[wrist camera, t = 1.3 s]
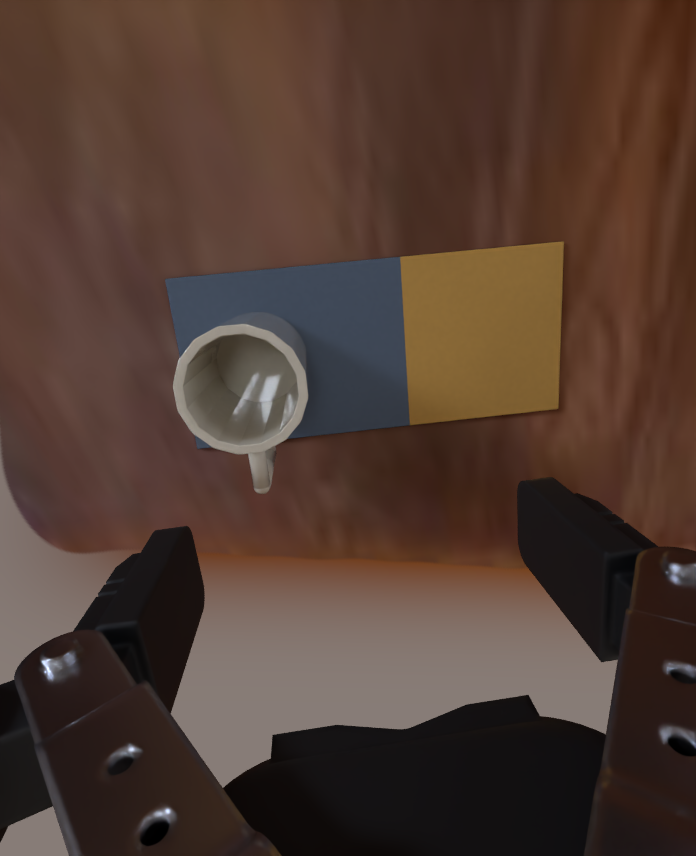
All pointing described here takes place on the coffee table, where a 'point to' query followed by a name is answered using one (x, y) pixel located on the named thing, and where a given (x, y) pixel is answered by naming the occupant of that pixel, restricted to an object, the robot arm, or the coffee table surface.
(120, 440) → the coffee table surface
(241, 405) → the mug
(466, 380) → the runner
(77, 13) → the coffee table surface
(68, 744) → the robot arm
